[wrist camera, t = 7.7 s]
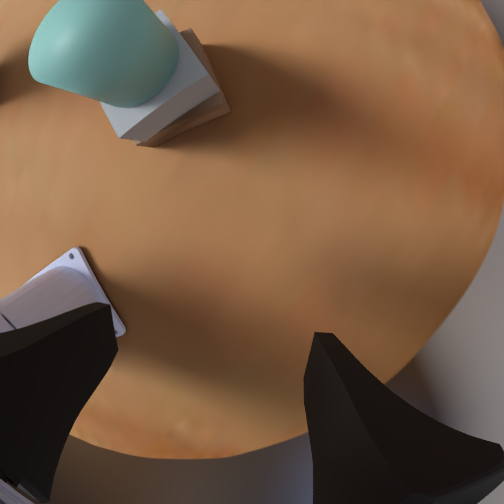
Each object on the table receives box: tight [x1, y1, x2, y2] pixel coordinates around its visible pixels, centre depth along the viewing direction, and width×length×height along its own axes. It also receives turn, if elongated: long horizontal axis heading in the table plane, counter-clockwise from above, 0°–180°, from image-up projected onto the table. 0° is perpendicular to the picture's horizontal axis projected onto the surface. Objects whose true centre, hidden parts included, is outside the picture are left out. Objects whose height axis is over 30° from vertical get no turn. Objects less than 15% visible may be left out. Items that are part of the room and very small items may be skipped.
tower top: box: [99, 9, 220, 142], centre depth 12 cm, size 5×5×3 cm
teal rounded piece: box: [28, 0, 179, 108], centre depth 8 cm, size 4×4×5 cm
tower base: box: [134, 28, 231, 148], centre depth 15 cm, size 6×6×3 cm
